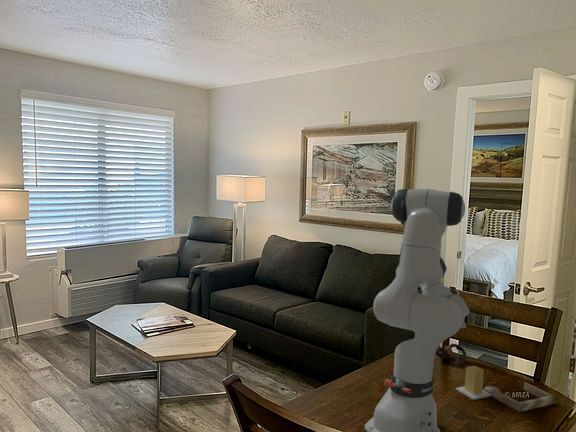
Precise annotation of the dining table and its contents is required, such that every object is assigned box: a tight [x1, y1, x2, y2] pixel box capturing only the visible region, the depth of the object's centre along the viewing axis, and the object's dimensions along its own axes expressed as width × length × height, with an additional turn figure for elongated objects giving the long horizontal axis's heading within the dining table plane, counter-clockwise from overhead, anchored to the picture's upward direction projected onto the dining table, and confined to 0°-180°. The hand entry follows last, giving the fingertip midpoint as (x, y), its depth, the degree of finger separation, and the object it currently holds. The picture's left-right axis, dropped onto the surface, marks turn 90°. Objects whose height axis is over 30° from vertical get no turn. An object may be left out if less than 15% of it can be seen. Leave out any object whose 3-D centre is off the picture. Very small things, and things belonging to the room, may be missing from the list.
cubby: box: [491, 382, 556, 413], centre depth 148 cm, size 16×11×2 cm
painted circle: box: [483, 385, 501, 394], centre depth 155 cm, size 5×5×1 cm
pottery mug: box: [435, 343, 467, 367], centre depth 179 cm, size 12×10×8 cm
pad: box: [455, 385, 492, 401], centre depth 153 cm, size 8×8×1 cm
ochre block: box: [464, 365, 485, 395], centre depth 152 cm, size 4×4×8 cm
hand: (453, 328), depth 163 cm, fingers open, 8 cm apart
